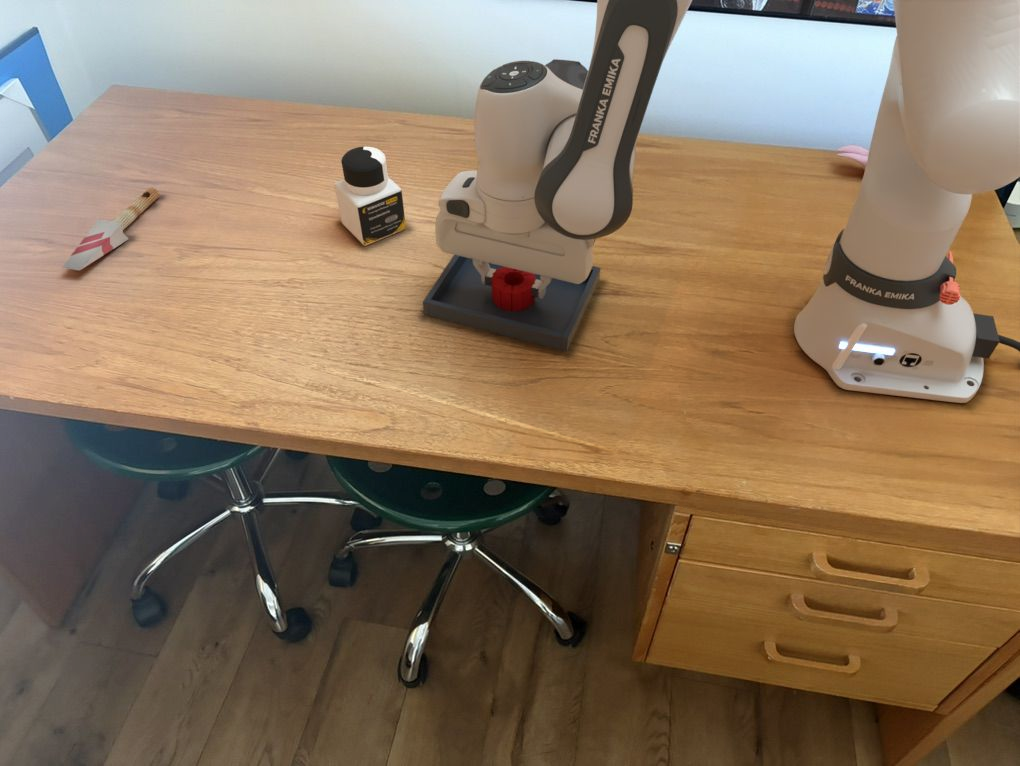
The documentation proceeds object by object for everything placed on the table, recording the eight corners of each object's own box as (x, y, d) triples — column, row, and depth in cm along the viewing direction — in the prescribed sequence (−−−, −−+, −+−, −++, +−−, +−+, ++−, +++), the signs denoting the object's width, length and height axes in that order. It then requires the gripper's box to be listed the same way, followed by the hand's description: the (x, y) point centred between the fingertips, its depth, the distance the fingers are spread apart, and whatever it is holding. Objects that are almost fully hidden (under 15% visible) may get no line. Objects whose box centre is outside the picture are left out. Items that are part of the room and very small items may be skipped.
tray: (599, 282, 109) (600, 267, 107) (566, 354, 100) (567, 339, 98) (466, 251, 113) (466, 236, 111) (424, 317, 104) (422, 301, 102)
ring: (540, 288, 107) (541, 270, 105) (526, 315, 104) (526, 297, 101) (501, 279, 109) (501, 260, 106) (486, 305, 105) (485, 286, 103)
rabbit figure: (924, 181, 128) (833, 151, 129) (945, 149, 123) (851, 119, 124) (924, 202, 124) (830, 171, 125) (946, 171, 119) (848, 139, 120)
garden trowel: (54, 257, 108) (140, 182, 121) (61, 273, 110) (146, 198, 123) (78, 262, 107) (163, 186, 121) (86, 278, 109) (168, 202, 122)
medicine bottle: (364, 247, 114) (352, 175, 105) (340, 223, 118) (327, 151, 109) (407, 229, 117) (398, 157, 108) (382, 206, 121) (372, 135, 112)
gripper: (604, 203, 94) (595, 291, 105) (446, 170, 99) (452, 257, 109) (589, 234, 90) (581, 322, 101) (425, 197, 95) (434, 285, 105)
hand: (513, 288), depth 105 cm, fingers closed on ring, 5 cm apart
